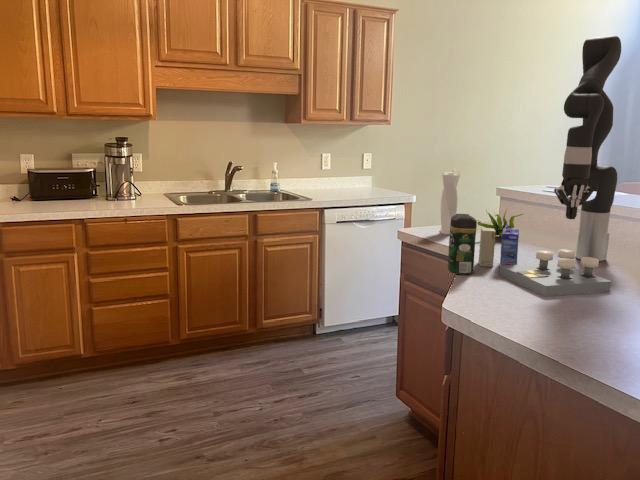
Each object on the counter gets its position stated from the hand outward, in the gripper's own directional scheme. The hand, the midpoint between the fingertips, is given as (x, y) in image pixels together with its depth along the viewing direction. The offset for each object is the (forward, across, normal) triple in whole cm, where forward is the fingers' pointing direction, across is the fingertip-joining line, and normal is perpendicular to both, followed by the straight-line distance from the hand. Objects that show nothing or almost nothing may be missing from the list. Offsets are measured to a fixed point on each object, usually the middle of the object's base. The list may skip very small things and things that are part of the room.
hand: (570, 218), depth 171 cm
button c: (+15, +8, 0) cm, 17 cm away
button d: (+15, +8, +10) cm, 20 cm away
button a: (+15, 0, 0) cm, 15 cm away
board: (+19, +8, +5) cm, 21 cm away
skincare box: (+19, +16, -18) cm, 31 cm away
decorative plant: (+19, -8, -47) cm, 52 cm away
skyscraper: (+19, +4, -70) cm, 72 cm away
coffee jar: (+19, +30, -12) cm, 37 cm away
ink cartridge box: (+19, +10, -14) cm, 26 cm away
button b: (+15, 0, +10) cm, 18 cm away
